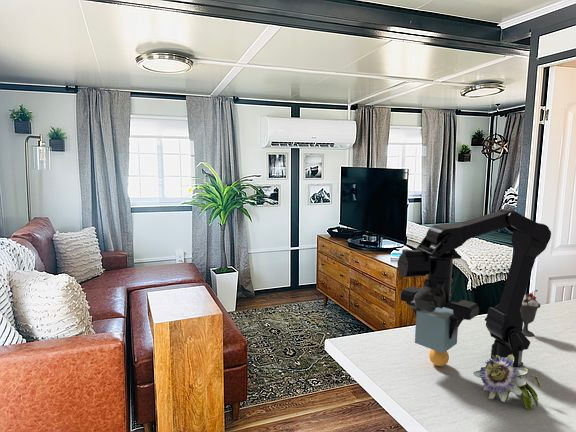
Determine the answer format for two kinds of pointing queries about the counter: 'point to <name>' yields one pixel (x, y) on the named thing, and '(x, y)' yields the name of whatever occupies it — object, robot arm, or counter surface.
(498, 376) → the passion flower
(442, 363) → the ball
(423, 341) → the grey-blue slanted prism
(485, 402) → the counter surface
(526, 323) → the sundae
